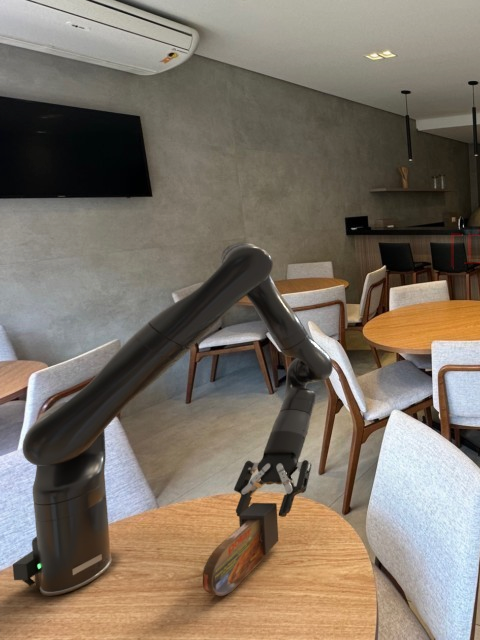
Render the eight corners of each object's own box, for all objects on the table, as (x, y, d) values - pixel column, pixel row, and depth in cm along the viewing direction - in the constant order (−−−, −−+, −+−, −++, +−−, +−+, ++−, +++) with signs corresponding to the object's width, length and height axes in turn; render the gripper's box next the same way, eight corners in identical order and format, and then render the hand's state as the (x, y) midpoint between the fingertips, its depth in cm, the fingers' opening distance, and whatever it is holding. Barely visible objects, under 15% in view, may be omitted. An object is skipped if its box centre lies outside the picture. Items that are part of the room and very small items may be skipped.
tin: (215, 608, 72) (212, 562, 71) (199, 605, 72) (197, 560, 72) (279, 543, 86) (277, 505, 86) (266, 541, 87) (264, 503, 86)
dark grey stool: (241, 554, 82) (238, 515, 82) (254, 540, 86) (252, 502, 86) (265, 555, 82) (263, 515, 81) (278, 540, 86) (276, 503, 85)
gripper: (249, 429, 92) (216, 513, 82) (313, 428, 92) (288, 512, 82) (265, 440, 98) (235, 520, 87) (324, 439, 98) (302, 519, 87)
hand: (261, 516), depth 84 cm, fingers open, 8 cm apart
